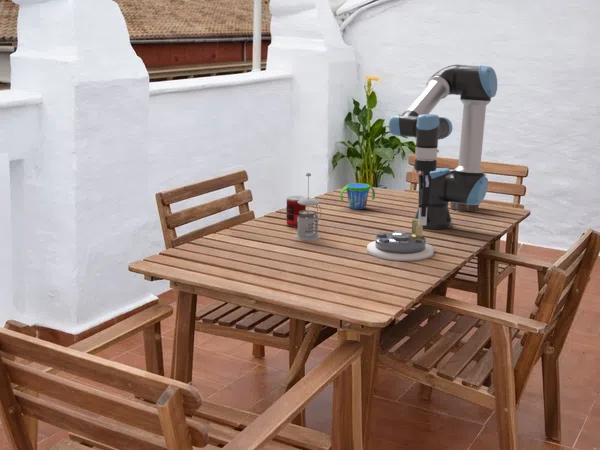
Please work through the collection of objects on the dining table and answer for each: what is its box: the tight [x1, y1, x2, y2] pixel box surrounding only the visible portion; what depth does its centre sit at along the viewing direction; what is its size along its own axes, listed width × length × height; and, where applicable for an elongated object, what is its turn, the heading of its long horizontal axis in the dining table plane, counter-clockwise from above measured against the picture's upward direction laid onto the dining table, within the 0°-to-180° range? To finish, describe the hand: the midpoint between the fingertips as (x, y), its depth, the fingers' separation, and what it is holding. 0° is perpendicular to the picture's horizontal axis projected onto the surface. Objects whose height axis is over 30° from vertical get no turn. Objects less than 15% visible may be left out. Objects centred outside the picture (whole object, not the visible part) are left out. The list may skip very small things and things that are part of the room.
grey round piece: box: [375, 218, 427, 254], centre depth 304 cm, size 18×18×9 cm
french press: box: [294, 172, 322, 241], centre depth 322 cm, size 10×12×25 cm
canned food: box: [286, 195, 307, 227], centre depth 342 cm, size 8×8×11 cm
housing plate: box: [366, 240, 435, 262], centre depth 306 cm, size 24×24×2 cm
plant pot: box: [450, 169, 487, 212], centre depth 373 cm, size 16×16×16 cm
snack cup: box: [339, 182, 376, 210], centre depth 373 cm, size 16×10×10 cm
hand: (422, 224), depth 300 cm, fingers closed
